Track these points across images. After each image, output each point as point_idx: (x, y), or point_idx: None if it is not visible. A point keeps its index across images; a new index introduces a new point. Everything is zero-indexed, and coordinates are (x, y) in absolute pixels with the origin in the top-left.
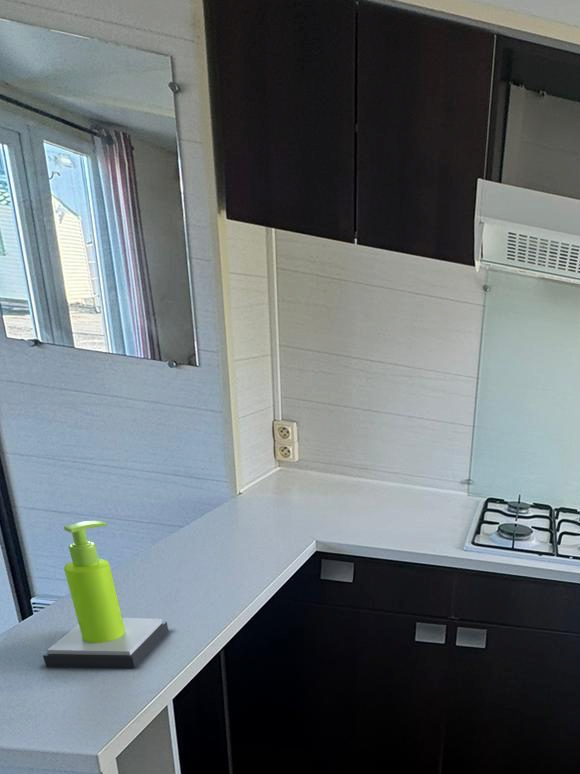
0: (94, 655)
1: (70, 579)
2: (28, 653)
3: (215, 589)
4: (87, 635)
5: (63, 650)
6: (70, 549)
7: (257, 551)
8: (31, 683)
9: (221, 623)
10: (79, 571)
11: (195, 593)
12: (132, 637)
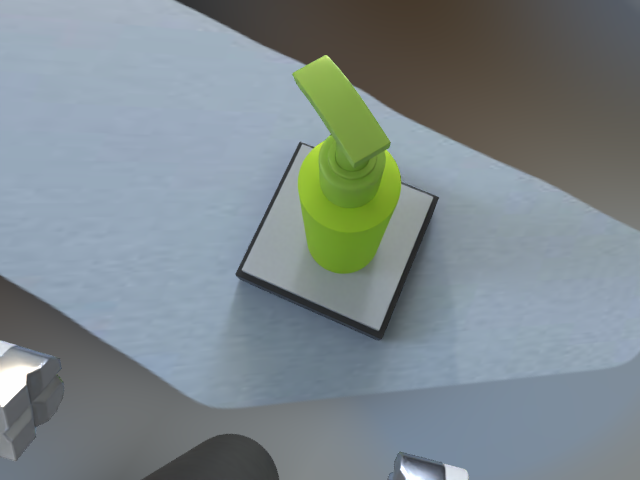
0: (411, 255)
1: (379, 228)
2: (308, 374)
3: (124, 66)
4: (371, 258)
5: (389, 302)
6: (369, 186)
7: None
8: (436, 358)
9: (295, 68)
10: (396, 195)
11: (130, 101)
12: None
